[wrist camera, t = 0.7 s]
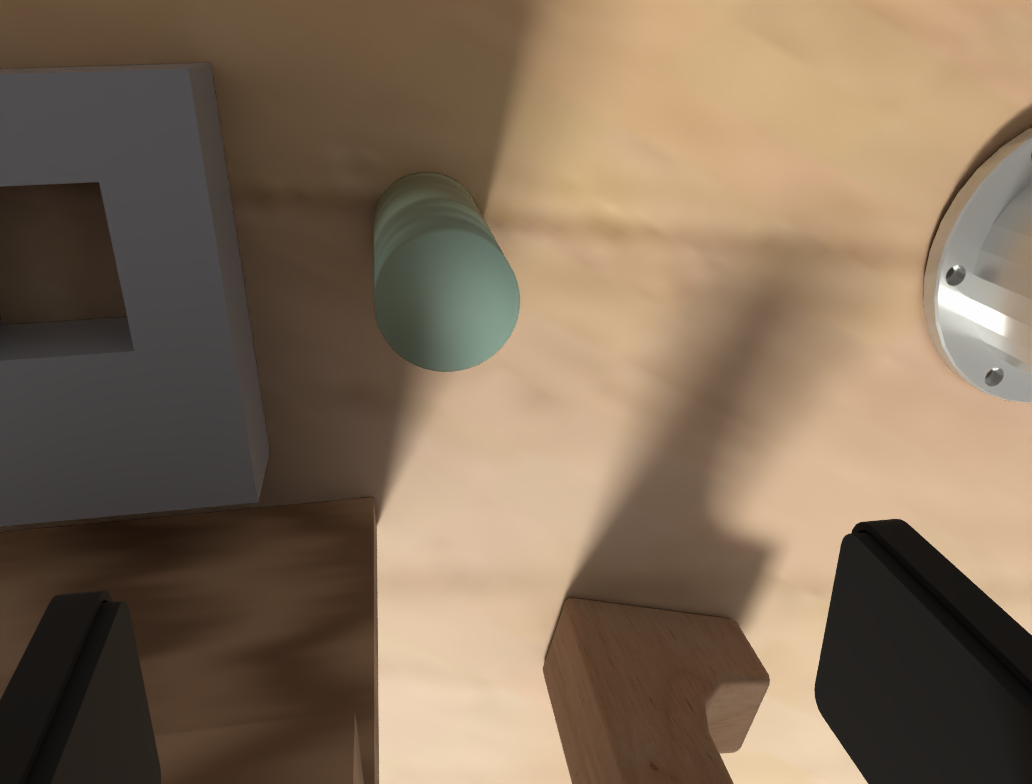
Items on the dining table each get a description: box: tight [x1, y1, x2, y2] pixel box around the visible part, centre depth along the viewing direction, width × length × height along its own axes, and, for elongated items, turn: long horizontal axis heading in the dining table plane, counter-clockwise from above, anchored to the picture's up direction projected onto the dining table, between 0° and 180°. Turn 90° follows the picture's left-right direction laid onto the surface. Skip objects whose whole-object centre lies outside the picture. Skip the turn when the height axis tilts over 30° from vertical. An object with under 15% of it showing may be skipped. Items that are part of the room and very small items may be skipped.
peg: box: [374, 172, 520, 372], centre depth 29 cm, size 4×4×10 cm
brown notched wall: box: [0, 497, 379, 784], centre depth 26 cm, size 18×6×20 cm, turn 91°
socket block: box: [0, 63, 270, 527], centre depth 30 cm, size 12×15×4 cm
